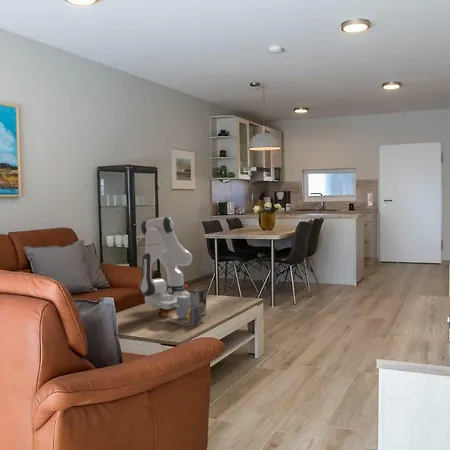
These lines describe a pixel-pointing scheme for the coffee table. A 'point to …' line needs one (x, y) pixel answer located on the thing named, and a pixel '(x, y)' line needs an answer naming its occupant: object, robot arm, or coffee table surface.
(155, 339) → the coffee table surface
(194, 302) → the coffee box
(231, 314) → the coffee table surface
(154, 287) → the robot arm
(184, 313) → the block
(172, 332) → the coffee table surface
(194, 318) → the rail dock
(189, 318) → the latch clip
